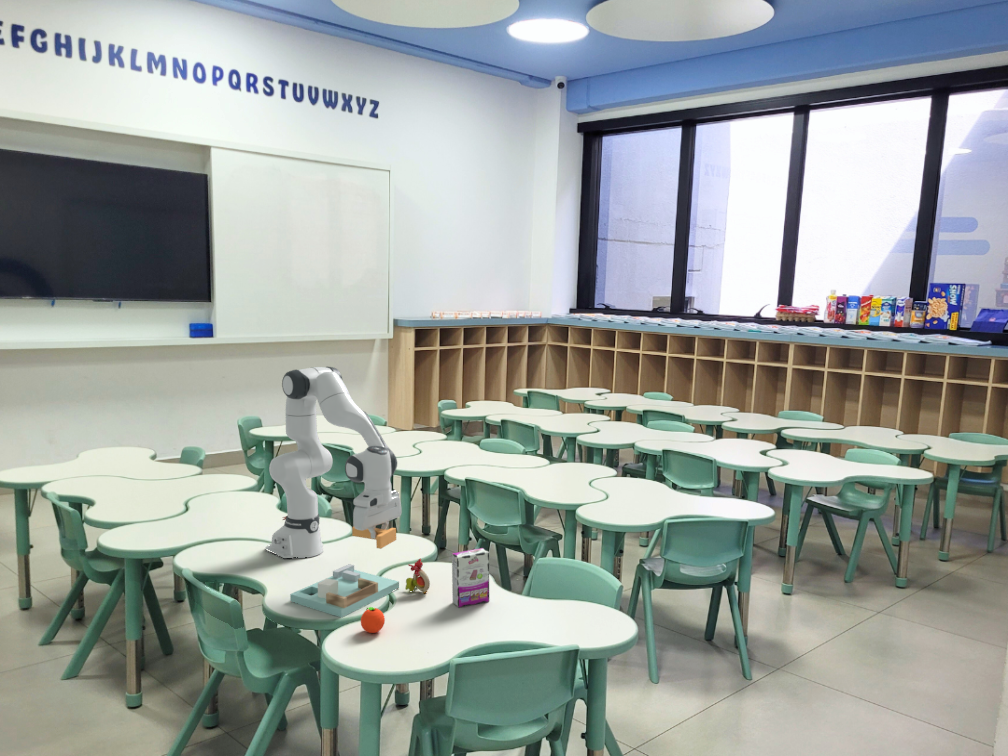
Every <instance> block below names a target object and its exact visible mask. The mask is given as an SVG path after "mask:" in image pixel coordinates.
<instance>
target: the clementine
mask: <svg viewBox="0 0 1008 756" xmlns="http://www.w3.org/2000/svg"><path fill="white" fill-rule="evenodd" d="M360 617H361V618H360V625H361V628H362V629H363V630H364V632H366V633H369V634H375V633H378V632H379V631H382V629H383V627H384V625H385V621H386V617H385V614H384V613H383V611H381V610H380V609H379V608H377V607H376V608H375V607H372V606H370V607H366V609H365V611H364V612H363V613H362V615H361V616H360Z"/></svg>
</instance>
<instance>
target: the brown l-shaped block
mask: <svg viewBox="0 0 1008 756" xmlns="http://www.w3.org/2000/svg"><path fill="white" fill-rule="evenodd" d="M358 588H360V589H361V590H359V591H356V592H354V593H352V594H350V595H348V596H346V597H343V596H340V595H337V594H333V593H330V592H328V593H326V603H328V604H332V605H335V606H338V607H342V608H346V607H348V606H350V605H352V604H354V603H356V602H358V601H360V600H362V599H364V598H366V597H368V596H370V595H372V594H375V593H377V592H378V583H377V582H374V581H370V580H366V579H362V578H359V579H358Z"/></svg>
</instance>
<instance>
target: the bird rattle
mask: <svg viewBox="0 0 1008 756" xmlns="http://www.w3.org/2000/svg"><path fill="white" fill-rule="evenodd" d="M423 565H424V564H423V562H422V559H421V558H419V559H417V561H416V562H414V565H413V564H410V563H409V564H407V566H408V567H410V571H411V572H413V576H412V577H407V578H406V579H405V583H406V585H405V590H406V591H407V590H409V592H410V591H413V590H414V591H415V588H416V589H417V588H418V591H420V592H422V593H423V594H424V593H425V594H426V592H427V593H428V590H429V589H430V585H431V582H430V579H429V575H427V573H426V572H425V571H424V570H423V569H422V568H423Z"/></svg>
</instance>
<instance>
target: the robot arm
mask: <svg viewBox="0 0 1008 756" xmlns="http://www.w3.org/2000/svg"><path fill="white" fill-rule="evenodd" d="M281 381H282V383H281V387H282V391H283V393H284V395H285V396H286V400H285V434H286V436H287V437H288V438H289V439H290V440H292V441H294V442H295V444H296V446H297V450H295V451H290V452H285V453H282V454H280V455H278V456H275V457H273V458H272V459H271V461H270V463H269V468H268V470H269V474H270V477H271V479H272V480H273V481H274V482H275V483H277V484H279V485H280V487H282V489H283V491H284V493H285V498H286V507H287V509H286V510H287V511H286V512H287V515H286V516H283V517H282V521H284V524H283V525H282V526H281V527H280V528H279V529H277V530H276V531H275V532H274V533H272V536H271V543H270V544H269V545H270V546H268V545H267V546H265V548H266V549H268V550H270V551H272V552H274V553H276V554H277V555H279V556H281V557H283V558H292V559H294V558H293V557H296V558H295V559H305V557H307V558H311V557H316V556H318V555H320V554H322V553H323V552H324V548H323V546H324V542H322V536H321V529H320V514H319V503H318V501H319V500H318V499H319V498H318V495H317V493H316V491H314V490H313V489H311V488H309V487H308V486H307V485H308V484H307V480H308V479H312V478H315V477H320V476H322V475H324V474H326V473H328V472H329V471H330V470H331V469H332V467H333V456H332V454H331V452H330V451H329V449H327V448H326V447H325V446H323V443H321V440H320V438H319V435H318V434H319V433H318V425H317V424H318V423H317V403H318V405H319V407H320V410H321V413H322V415H323V417H324V418H325V420H326V421H327V422H328V423H330V424H331V425H333V426H335V427H336V426H337V427H339V428H340V427H341V428H345V429H350V430H353V431H355V432H357V433H358V434H359V435H361V437H362V438H363V440H364V441H365V443H366V445H367V447H366V449H365V450H363V451H361V452H358V453H354V454H352V455H349V456H348V457H347V459H346V461H345V463H344V464H345V465H344V472H345V475H346V477H347V479H348V480H350V481H351V482H353V483H364V489H363V491H362V492H361V493H359V495H357V496H356V497H355V498H354V499H353V505H354V509H353V514H352V515H353V516H352V518H353V520H352V522H353V527H355V529H357V530H362V531H363V530H366V529H368V530H369V531H370V533H371V538H372V539H371V540H374V539H375V538H376V536H377V535H378V533H377V532H375V529H376V528H377V527H376V526H379V525H381V528H380V529H385V530H388V526H389V523H390V521H393V520H395V519H398V518H400V517H401V515H402V503H401V498H400V493H399V492H398V491H397V490H396V489H394V490H392V488H393V487H392V483H391V477H393V475H394V474H395V472H396V471H397V467H398V459H397V456H396V454H395V453H394V452H393V451H392V450H391V448H390V447H389V446H388V444H387V443H386V442H385V440H384V438H383V437H382V435H381V433H380V432H379V430H378V428H377V427H376V425H375V423H374V421H373V420H372V418H371V417H370V415H368V413H367V412H366V411H364V410H362V408H360V407H359V405H357V404H356V403H355V401H354V400H353V398H352V397H351V394H350V392H349V390H348V388H347V385H346V384H345V383H344V381H343V376H342V373H341V372H340V370H339V369H338V368H335V367H333V366H313V367H312V366H311V367H306V368H301V369H292V370H290V371H287V372H285V373H284V375H283V377H282V380H281ZM277 555H276V556H277ZM279 556H278V557H279ZM281 557H280V558H281ZM297 557H298V558H297ZM283 558H282V559H283Z"/></svg>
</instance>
